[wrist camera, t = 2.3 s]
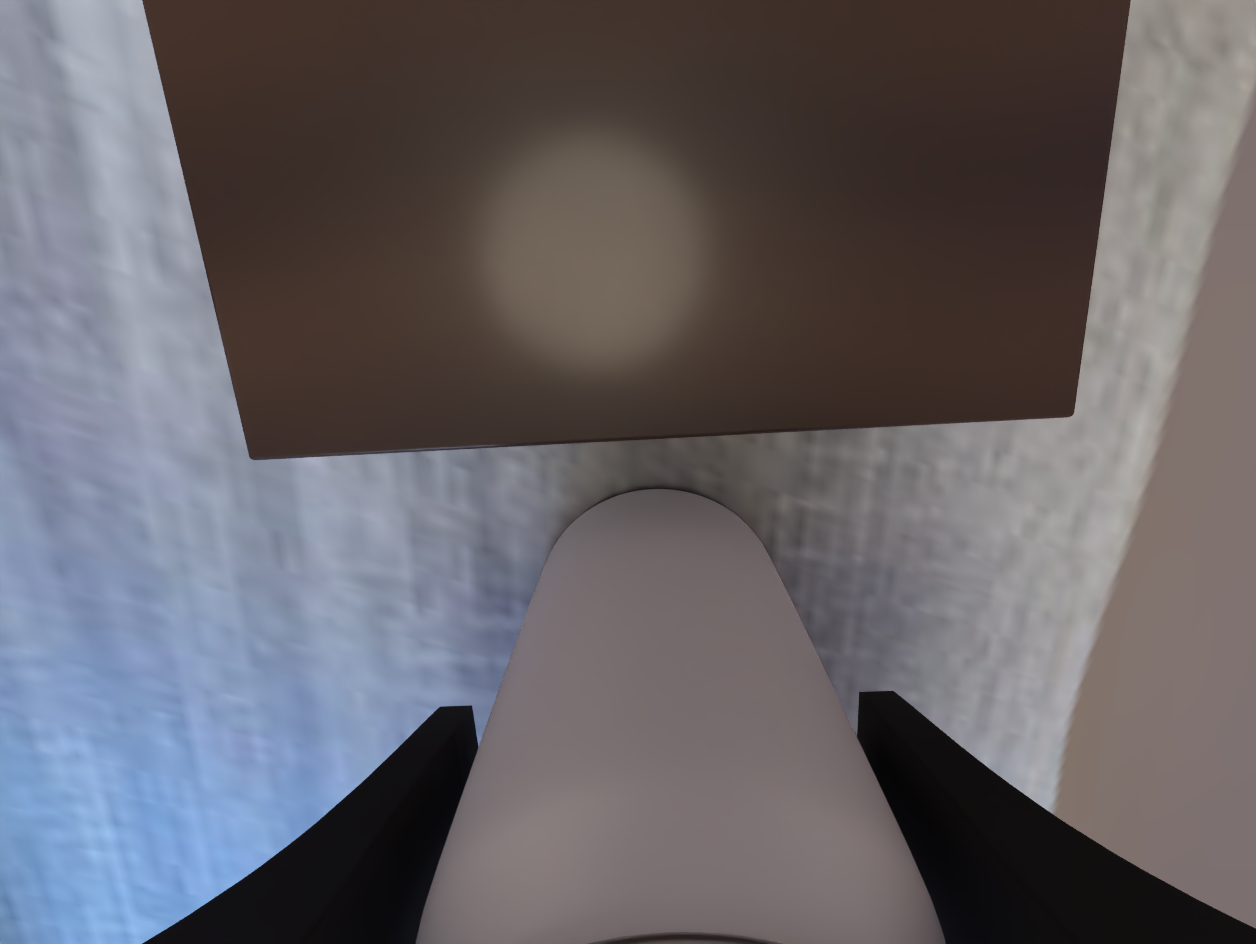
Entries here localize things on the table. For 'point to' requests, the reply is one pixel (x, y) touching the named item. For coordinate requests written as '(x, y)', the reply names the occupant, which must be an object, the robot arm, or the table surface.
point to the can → (670, 760)
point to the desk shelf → (640, 212)
